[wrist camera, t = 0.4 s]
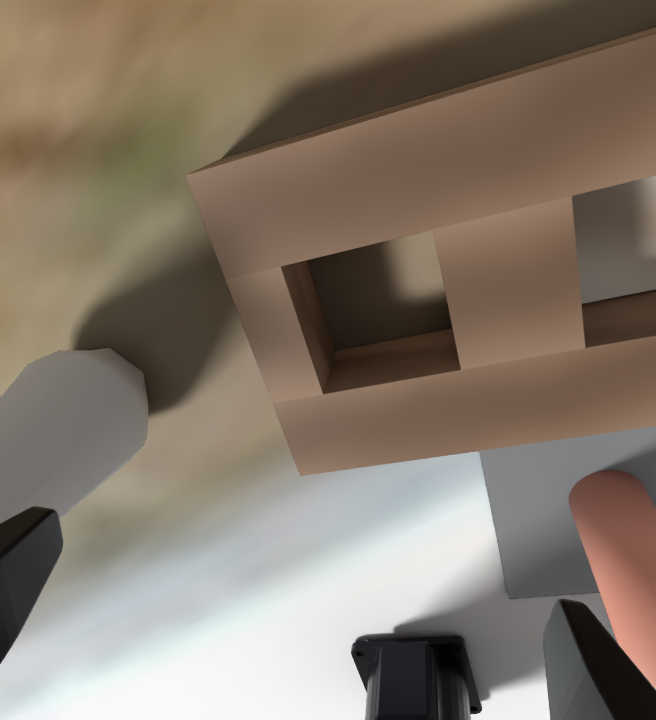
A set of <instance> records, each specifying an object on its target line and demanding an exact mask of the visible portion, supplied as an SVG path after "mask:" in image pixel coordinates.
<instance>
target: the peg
mask: <svg viewBox="0 0 656 720" xmlns="http://www.w3.org/2000/svg"><path fill="white" fill-rule="evenodd" d="M568 501H569V507H570V510H571V513H572V515H573V518H574V521H575V524H576V527H577V529H578V532H579V535H580V538H581V541H582V544H583V546H584V549H585V552H586V555H587V558H588V561H589V563H590V566H591V569H592V572H593V575H594V578H595V580H596V583H597V586H598V589H599V592H600V595H601V597H602V600H603V603H604V606H605V609H606V612H607V614H608V617H609V620H610V623H611V626H612V628H613V631H614V634H615V637H616V640H617V643H618V644H619V646H620V647H621V648H622V649H623V650H624V652H625V653H626V654H627V655H628V656H629V658H630V659H631V660H632V661H633V663H634V664H635V665H636V666H637V667H638V669H639V670H640V671H641V672H642V673H643V675H644V676H645V677H646V678H647V679H648V681H649V682H650V683H651V684H652V686H653V687H654V688H655V689H656V507H655V505H654V504H653V502H652V500H651V498H650V496H649V494H648V493H647V491H646V489H645V487H644V485H643V484H642V482H641V481H640V480H639V479H638V478H636V477H635V476H633V475H631V474H629V473H627V472H623V471H618V470H604V471H599V472H595V473H592V474H589V475H587V476H585V477H584V478H582V479H581V480H580V481H578V482H577V483H576V484H575V485H574V487H573V488H572V490H571V492H570V494H569V499H568Z"/></svg>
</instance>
